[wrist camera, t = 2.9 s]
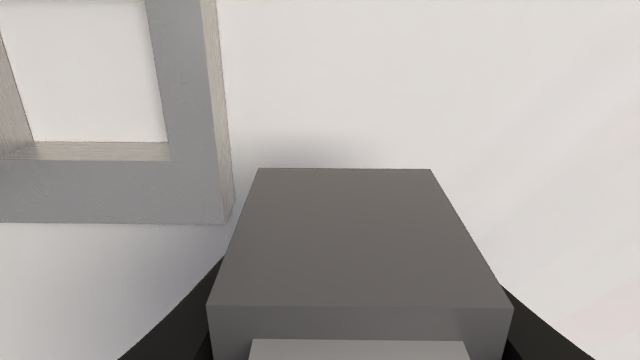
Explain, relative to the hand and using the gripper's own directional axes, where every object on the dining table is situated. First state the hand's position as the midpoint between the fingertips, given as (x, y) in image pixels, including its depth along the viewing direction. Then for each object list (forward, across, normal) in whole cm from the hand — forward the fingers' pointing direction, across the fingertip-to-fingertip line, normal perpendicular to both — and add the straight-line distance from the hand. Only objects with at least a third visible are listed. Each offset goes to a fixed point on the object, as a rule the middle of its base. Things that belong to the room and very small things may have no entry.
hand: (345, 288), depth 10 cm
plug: (+2, 0, 0) cm, 2 cm away
